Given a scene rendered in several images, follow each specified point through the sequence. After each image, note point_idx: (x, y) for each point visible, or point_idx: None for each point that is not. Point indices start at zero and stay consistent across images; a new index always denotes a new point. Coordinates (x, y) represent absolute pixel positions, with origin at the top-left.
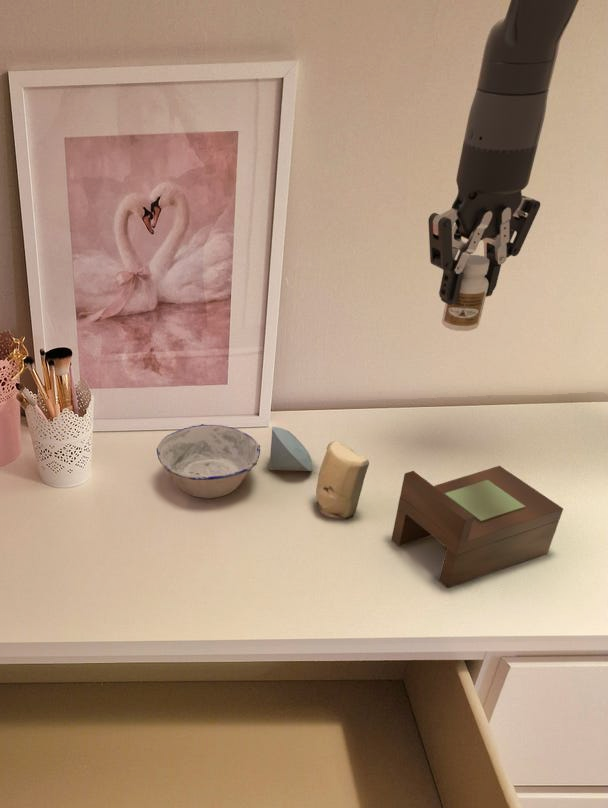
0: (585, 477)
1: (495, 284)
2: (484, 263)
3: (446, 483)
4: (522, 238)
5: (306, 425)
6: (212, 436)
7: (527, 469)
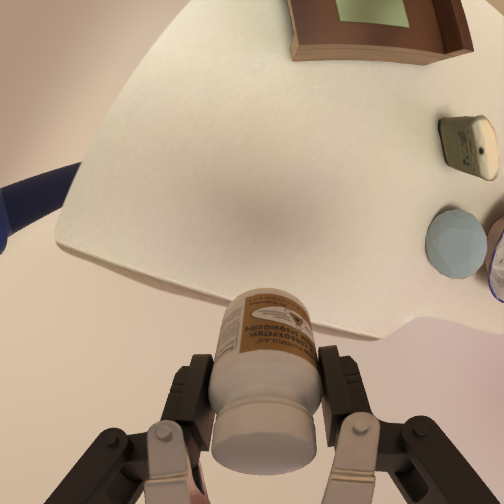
0: (135, 89)
1: (178, 377)
2: (251, 435)
3: (394, 43)
4: (86, 467)
5: (381, 307)
6: (497, 288)
7: (188, 122)
